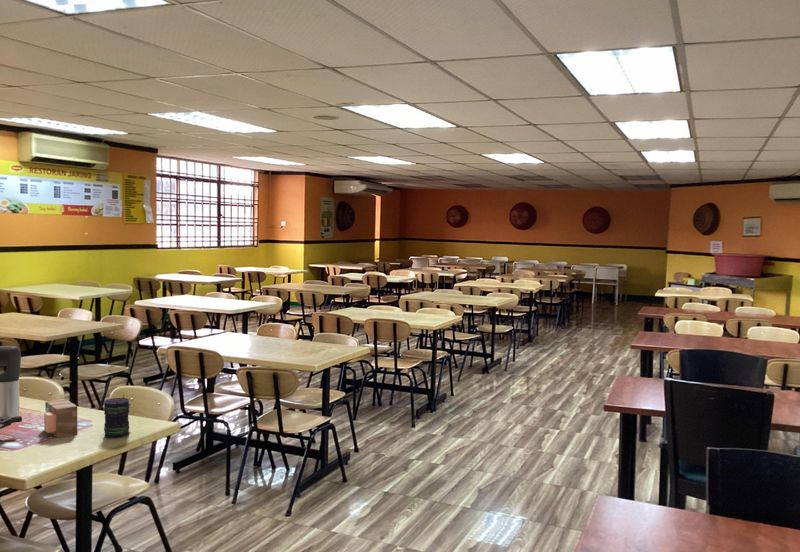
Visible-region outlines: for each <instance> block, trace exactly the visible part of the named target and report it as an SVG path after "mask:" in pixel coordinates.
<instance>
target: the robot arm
mask: <svg viewBox="0 0 800 552" xmlns="http://www.w3.org/2000/svg"><path fill="white" fill-rule="evenodd" d="M21 363H22V353H21V349H20V347H18V346H14V345H13V346H12V345H11V346H10V345H8V346H7V345H0V367H6V370H5V371H4V372H2V373H0V429H1V430H2V429H3V428H6V427H9V426H12V424H16V423H21V422H22V421H23V417H22V416H21V414H20V411H21V410H20V374H21V366H22V365H21Z"/></svg>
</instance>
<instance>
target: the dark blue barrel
mask: <svg viewBox="0 0 800 552" xmlns="http://www.w3.org/2000/svg"><path fill="white" fill-rule="evenodd" d="M129 402H130V399H129V398H127V397H124V398H123V397H114V398H109V399H106V400H104V402H103V403H104V405H103V411H104V412H103V413H104V428H103V429H104V438H105V439H114V440H115V439H121V438H125V437H129V435H130V421H129V413H130V406H129V404H130V403H129Z"/></svg>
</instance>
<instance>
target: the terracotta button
mask: <svg viewBox="0 0 800 552" xmlns="http://www.w3.org/2000/svg"><path fill="white" fill-rule="evenodd" d="M43 419H44V420H43V423H44V424H43V428H44V429H43V430H44V431H45V432H46V433H51V432H54V431H56V413H55V412H49V413H46V412H44V413H43Z"/></svg>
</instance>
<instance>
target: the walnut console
mask: <svg viewBox="0 0 800 552" xmlns="http://www.w3.org/2000/svg"><path fill="white" fill-rule="evenodd" d="M44 403H45V408H44V409H45V410H46V407H48V408H49V409H50V412H55V413H56V431H54V432H50V434H52V435H53V434H54V435H53V436H55V437H56V438H60V437H61V438H62V437H67V435H68V436H72V435H73V434H74V435H78V433H79V432H78V406H77V405H76V404H75V403H73V402H71V401H70V400H68V399H67V398H62V399H61V398H59V399H52V400H48V401H45V402H44Z"/></svg>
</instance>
